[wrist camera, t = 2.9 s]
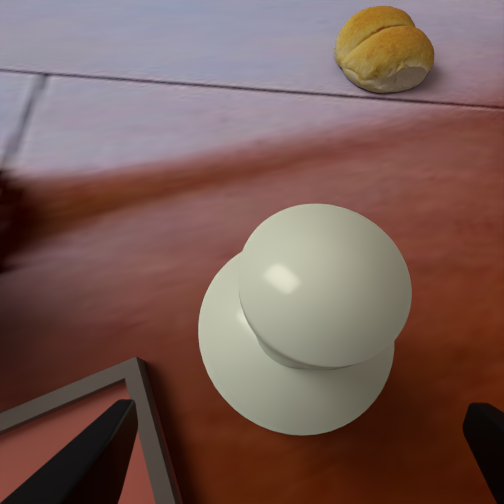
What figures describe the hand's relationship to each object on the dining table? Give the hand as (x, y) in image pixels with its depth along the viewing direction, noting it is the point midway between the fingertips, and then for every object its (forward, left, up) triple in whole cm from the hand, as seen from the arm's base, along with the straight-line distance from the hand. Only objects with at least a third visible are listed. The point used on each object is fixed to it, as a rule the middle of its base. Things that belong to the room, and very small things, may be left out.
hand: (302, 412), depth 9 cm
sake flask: (+1, -2, -10) cm, 10 cm away
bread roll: (-2, -31, -10) cm, 33 cm away
